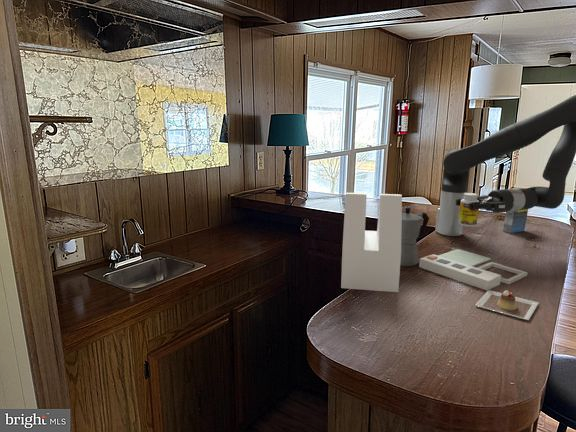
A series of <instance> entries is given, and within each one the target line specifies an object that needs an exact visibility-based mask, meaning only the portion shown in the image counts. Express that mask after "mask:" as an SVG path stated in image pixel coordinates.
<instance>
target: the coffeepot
mask: <svg viewBox="0 0 576 432" xmlns="http://www.w3.org/2000/svg"><path fill="white" fill-rule="evenodd" d="M404 210H405V212H402V228H401V261H400V267H401V266H403V267H412V266H417V265H418V264H419V263H420V258H419V250H418V249H419V248H418V243H417V239H420V238H422V237H423V236H424V235H425V232H426V228H427V226H428V222H429V221H430V219H429V218H430V217H429V215H428V214H427V213H426V212H421V213H420V212H417V213H415V214H414V213H411V208H410V207H405V209H404Z"/></svg>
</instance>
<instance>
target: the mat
mask: <svg viewBox="0 0 576 432" xmlns="http://www.w3.org/2000/svg"><path fill="white" fill-rule="evenodd" d="M438 256H441V257H444V258H447V259H451V260H454V261H457V262H460V263H463V264H467V265H470V266H473V267H476V266H480V265H481V264H483V263H487V262H489V261H491V259H492V258H490V257H488V256H483V255H480V254H477V253H473V252H469V251H466V250H462V249H459V248H456V249H453V250H450V251H447V252H445V253H441V254H439V255H438Z"/></svg>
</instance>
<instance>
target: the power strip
mask: <svg viewBox="0 0 576 432" xmlns="http://www.w3.org/2000/svg"><path fill="white" fill-rule="evenodd" d="M418 264H419V266H418V268H420V269H424V270H426V271H430V272H432V273H434V274H435V273H436V274H438V275H441V276H444V277H447V278H450V279H451V280H452V279H453V280H455V281H459V282H461V283H464V284H467V285H469V286H472V287H475V288H478V289H481V290H485V291H488V290H492V289H494V288H496V287H498V286H500V285H501V282H500V281H501V277H502V275H501V274H499V273H497V272H496V273H495V272H492V271H489V270H487V269H485V270H483V269H480V268H478V267H476V266H474V267H473V266H470V265H467V264H463V263H460V262H457V261H454V260H451V259H447V258H444V257H441V256H438V255H437V254H434V253H433V254H430V255H426V256H423V257H421V258H419V262H418Z"/></svg>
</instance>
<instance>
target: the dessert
mask: <svg viewBox="0 0 576 432" xmlns="http://www.w3.org/2000/svg"><path fill="white" fill-rule="evenodd" d="M491 296H497V297H499V299H498V301H497V302H496V305H497V307H498V308H501V309H503V310H507V311H515V310H517V309H518V306H517V302H520V303H522V304H527V305H530V307H529V309H528V310H527V312H526V313H525V315H524V317H521V316H517V315H514V314H510V313H507V312H504V311H500V310H497V309H496V310H495V309H492V308H489V307H485V306H484V304H485V303H486V302H487V301H488V300H489V299H490V298H491ZM539 303H540V302H538V301H534V300H530V299H525V298H522V297H518V296H515V295H513V293H512V292H511V290H510V289H508V290H504V291H503V292H498V291H494V290H492V289H489V290H486V292H485V293H484V295H482V297H480V299H478V301H477V302H476V303H475V304H474V306H476V307H477V308H481V309H484V310H488V311H491V312H495V313H499V314H502V315H505V316H509V317H513V318H516V319H520V320H523V321H530V319H531V318H532V315H533V313H534V312H535V310H536V309H537V307H538V306H539Z"/></svg>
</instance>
